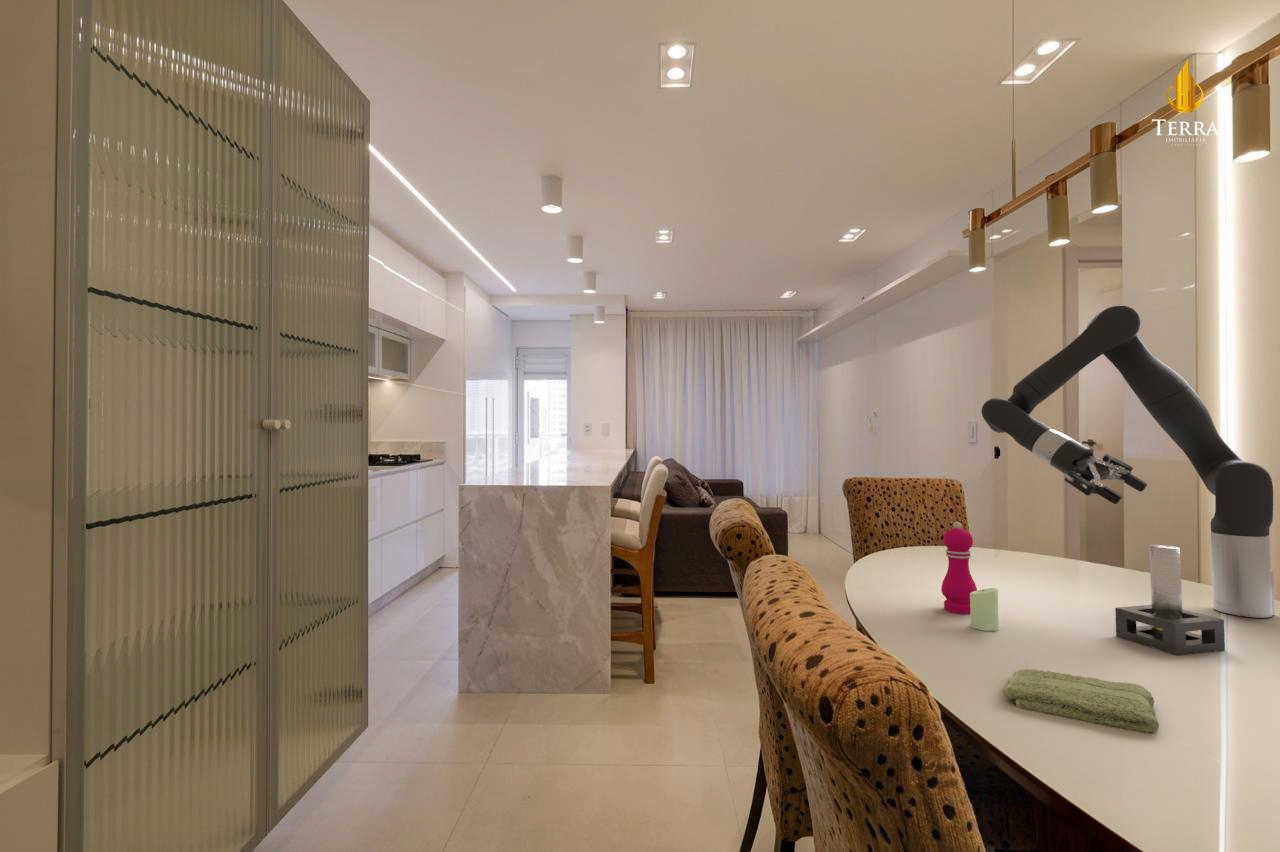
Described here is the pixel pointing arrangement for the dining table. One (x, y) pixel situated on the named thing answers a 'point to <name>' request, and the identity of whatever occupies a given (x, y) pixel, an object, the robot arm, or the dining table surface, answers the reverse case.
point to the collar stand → (1171, 630)
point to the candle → (984, 609)
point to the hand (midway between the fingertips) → (1132, 494)
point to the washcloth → (1084, 699)
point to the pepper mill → (958, 570)
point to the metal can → (1165, 584)
